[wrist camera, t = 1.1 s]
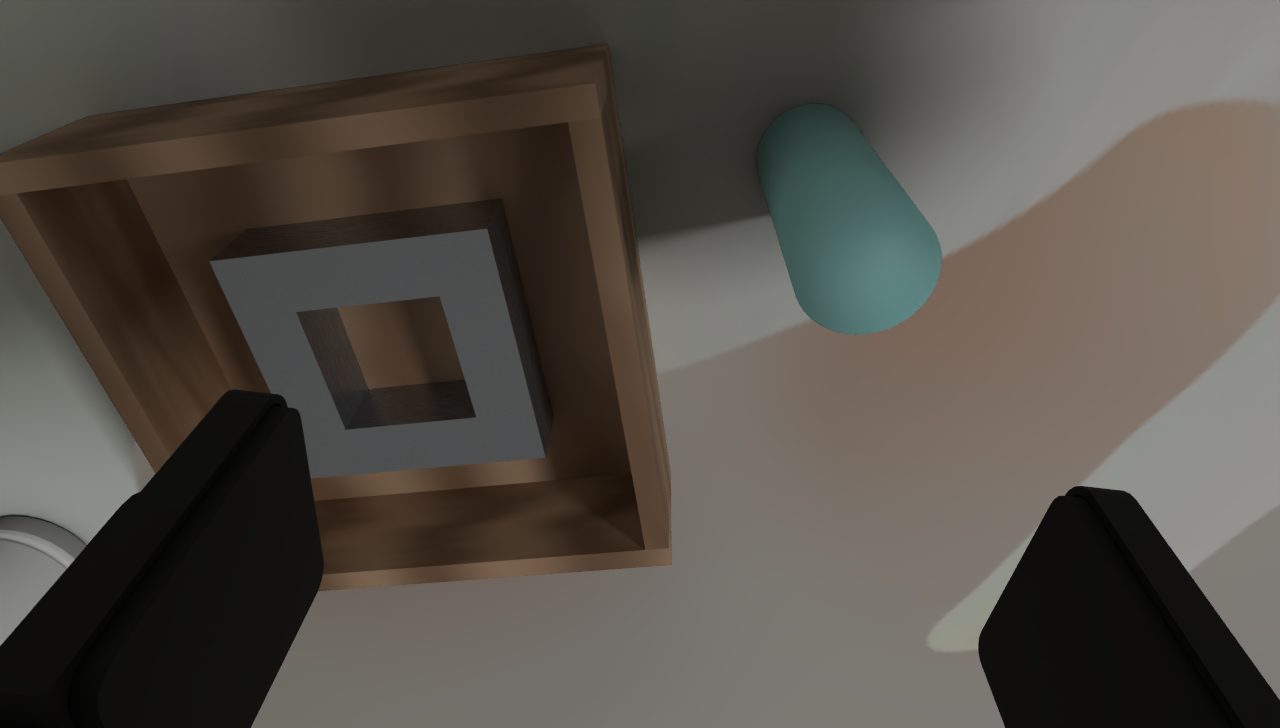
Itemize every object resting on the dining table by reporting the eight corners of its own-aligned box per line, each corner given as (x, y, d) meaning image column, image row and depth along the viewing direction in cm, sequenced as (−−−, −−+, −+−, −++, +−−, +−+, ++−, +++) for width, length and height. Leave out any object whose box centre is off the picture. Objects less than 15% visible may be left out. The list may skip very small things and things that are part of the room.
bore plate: (502, 198, 30) (487, 228, 27) (554, 415, 35) (545, 457, 33) (246, 228, 31) (209, 261, 28) (335, 436, 36) (311, 478, 34)
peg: (863, 97, 28) (947, 193, 20) (861, 200, 31) (936, 327, 22) (753, 111, 29) (790, 211, 20) (759, 212, 31) (794, 341, 22)
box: (607, 44, 28) (595, 83, 23) (670, 472, 38) (671, 564, 33) (88, 115, 30) (-31, 166, 24) (285, 505, 40) (231, 597, 35)
